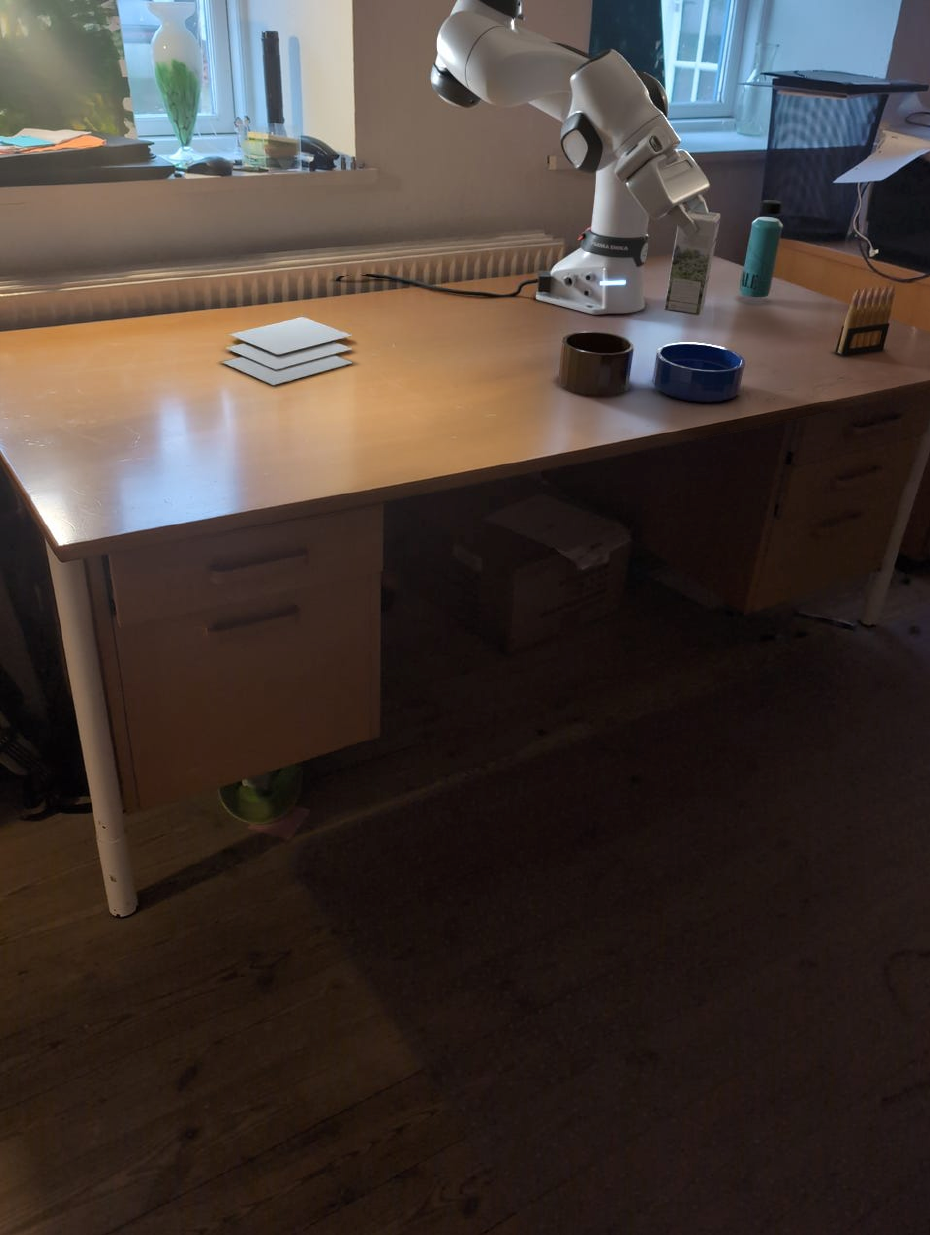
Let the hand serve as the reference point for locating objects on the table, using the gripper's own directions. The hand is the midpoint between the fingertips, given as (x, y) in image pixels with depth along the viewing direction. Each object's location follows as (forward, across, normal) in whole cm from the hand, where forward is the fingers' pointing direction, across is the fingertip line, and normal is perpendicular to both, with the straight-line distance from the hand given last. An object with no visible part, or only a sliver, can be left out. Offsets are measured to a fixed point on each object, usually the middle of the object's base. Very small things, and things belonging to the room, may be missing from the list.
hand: (701, 229), depth 153 cm
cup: (+9, +6, -26) cm, 29 cm away
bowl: (+20, -2, -16) cm, 25 cm away
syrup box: (+8, 0, -9) cm, 13 cm away
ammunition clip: (+34, -40, -2) cm, 53 cm away
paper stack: (-26, +22, -62) cm, 71 cm away
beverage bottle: (+16, -62, -20) cm, 67 cm away
